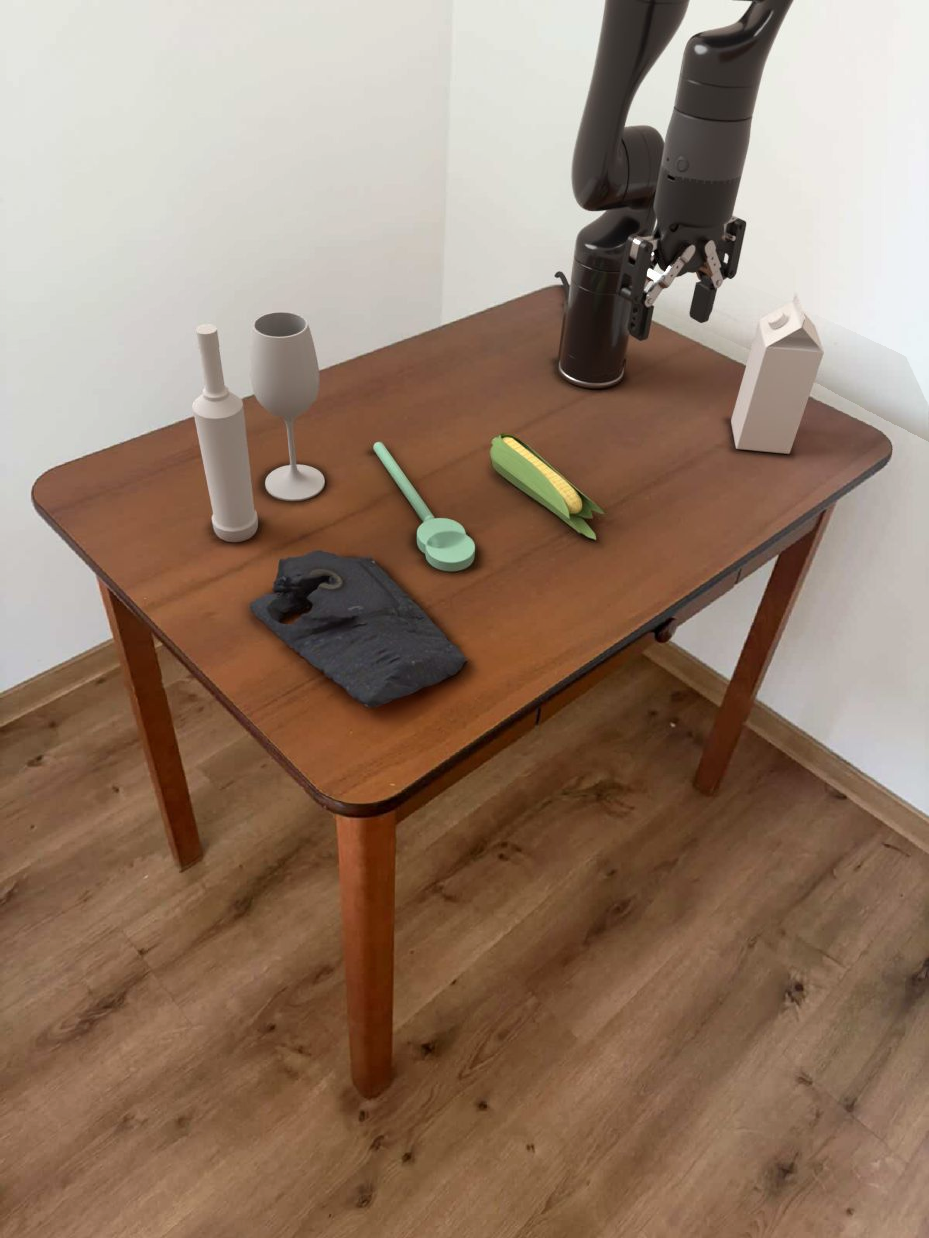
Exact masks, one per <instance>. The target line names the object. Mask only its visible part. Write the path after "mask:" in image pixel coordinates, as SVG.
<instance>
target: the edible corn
mask: <svg viewBox="0 0 929 1238" xmlns="http://www.w3.org/2000/svg"><path fill="white" fill-rule="evenodd" d="M490 444H491V448H490V450H489V451H490V453H489V455H490V460H491V465H492V467H493V469H494V470H495V471H496V472H497V473H498V474H499V475H500V476H502V477H503V478H505V479H506V481H508V482H509V483H511V484H512V485H514V486H515V487H516V488H517V489H519V490H520V491H522V492H523V493H525V494H526V495H527V496H529V497H530V498H532V499H533V500H534V501H536V502H537V503H539V504H540V505H542V506H543V507H544V508H546V509H547V510H548V511H550V512H551V513H552V514H554V515H556V516H557V517H558V518H559V519H561V520H562V521H563V522H564V523H566V524H567V525H569V526H570V527H571V528H572V529H574V530H575V531H576V532H577V533H579V534H582V535H584V536H586V537H587V538H590V539H593V540H595V541H597V536H596V533H595V532H594V531H593V530H592V528H591V527H590V526H589V524H588V523H587V522H586V521H585V520H584V519H594V518H593V513H592V511H594V512H596V513H598V514H601V515H606V513H605V512H604V511H603V510H602V508H601V507H600V506H598V505H597V504H596V503H595V502H594V501H593V500H592V499H590V498H589V497H588V496H587V495H586V494H585V493H583V492H582V491H581V490H580V489H578V488H577V487H576V485H574V484H573V483H572V482H570V481H569V480H568V479H567V478H566V477H565V476H563V475H562V473H560V472H559V471H558V470H557V469H555V468H554V467H553V466H552V464H550V463H549V462H548V461H547V460H545V458H543V457H542V456H541V455H540V454H539V453H538V452H537V451H535V450H534V449H533V448H532V447H531V446H529V445H528V444H527V443H525V442H524V441H523V440H521V439H520V438H518V437H517V436H515V435H513V434H510V433H505V432H502V433H500V434H499V435H498V436H497V437H494V438H493V439H492V440H491V443H490Z"/></svg>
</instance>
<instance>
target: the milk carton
mask: <svg viewBox="0 0 929 1238" xmlns="http://www.w3.org/2000/svg"><path fill="white" fill-rule="evenodd" d="M824 353H825V352H824V347H823V346H822V343H821V339H820V336H819V334H818V331H817V327H816V326H815V323H814V322H813V321H812V319H810V317H809V316H808V315H807V314H806V313H805V312H804V310H803V307H802V304H801V300H800V298H799V295H798V292H795V293H794V295H793V299H792V300H791V301H789V302H788V303H786V304H784V305H782V306H780V307H779V308H777V309H776V310H774V311H772V312H771V313H768V314H766V315H765V316H763V317H761V318H760V319H759V320H758V322H757V326H756V330H755V333H754V336H753V341H752V344H751V348H750V351H749V353H748V359H747V363H746V366H745V368H744V372H743V377H742V380H741V383H740V388H739V391H738V394H737V398H736V401H735V405H734V408H733V412H732V416H731V419H730V423H731V429H732V434H733V440H734V445H735V449H737V450H744V451H745V450H746V451H747V450H748V451H755V452H765V453H776V454H785V455H786V454H787V455H789V454H791V451H792V448H793V445H794V442H795V439H796V436H797V433H798V430H799V428H800V424H801V421H802V418H803V416H804V413H805V410H806V406H807V404H808V400H809V397H810V395H811V392H812V389H813V386H814V383H815V380H816V376H817V373H818V372H819V368H820V365H821V362H822V359H823V356H824Z"/></svg>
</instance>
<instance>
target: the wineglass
mask: <svg viewBox="0 0 929 1238" xmlns="http://www.w3.org/2000/svg"><path fill="white" fill-rule="evenodd" d="M249 348H250V350H249V377H250V383H251V387H252V388H251V389H252V391H253V392H252V393H253V395H254V397H255V398H256V400H257V402H258V403H259V405H260V406H261V407H263V408H264V409H265V410H266V411H267V412H268V413H270V414H272V415H274V416H276V417H278V418H279V419H282V420H283V421H284V423H285V427H286V435H287V443H288V453H289V454H288V455H289V464H288V465H283V466H280V467H278V468H275V469H274V470H272V471H271V472H270V473H269V474H268V475H267V476H266V478H265V481H264V482H265V483H264V486H265V489H266V491H267V492H268V494H269V495H270V496H272V497H273V498H276V499H278V500H282V501H287V502H301V501H305V500H306V501H307V500H309V499H311V498H315V496H317V495H319V494H320V493H321V492H322V491H323V489H324V487H325V482H326V481H325V477H324V475H323V473H322V472H321V471H320V470H319V469H317V468H315V467H312V466H310V465H305V464H298V463H297V456H296V445H295V433H294V421H295V420H296V418H299V417H300V416H301V415H303V414H304V413H306V412H307V411H308V410H309V409H310V408H311V407H312V405H313V404H314V403H315V401H316V399H317V397H318V394H319V391H320V368H319V363H318V356H317V352H316V347H315V342H314V339H313V335H312V332H311V328H310V326H309V323H308V320H307V319H306V318H305V317H304V316H302V315H301V314H298V313H295V312H291V311H272V312H267V313H263V314H261V315H259V316H258V317H257V318H255V319H254V320H253V321H252V326H251V333H250V346H249Z"/></svg>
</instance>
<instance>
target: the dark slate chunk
mask: <svg viewBox="0 0 929 1238" xmlns="http://www.w3.org/2000/svg"><path fill="white" fill-rule="evenodd" d="M271 591H272V592H273V593H265V594H263V595H262V596H260V597H257V598H256V599H254V600H252V601H250V602H249V610H250V612H253V613H254V615H255V616H256V617H257V618H258V619H259V620H260V621H262V622H263V623H264V624H265V625H266V627H268V628H269V629H270V630H271V631H272V632H273V633H274V634H275V635H276V636H277V637H278V638H279V639H280V640H281V641H282V642H285V644H286V645H287V646H288V647H289V648H291V649H294V651H295V653H297V654H299V655H300V657H303V658H304V659H306V660H307V661H308V662H309V664H310V665H311V666H312V667H314V668H315V669H316V670H318V671H320V672H321V673H323V674H324V675H325V676H326V677H327V678H328V679H330V680H331V681H333V682H334V683H335V684H337V685H338V686H339V687H340V688H342V689H344V690H345V691H346V692H347V694H348V695H350V697H351V698H352V699H354V700H355V701H356V702H358V703H360V704H362V705H364V706H365V707H367V708H371V709H374V708H377V707H380V706H383V705H385V704H387V703H390V702H392V701H395V700H398V699H401V698H403V697H406V696H410V695H412V694H413V693H417V692H418V691H419V690H422V689H423V688H426V687H432V686H434V685H435V686H436V685H437V684H439V683H440V682H442V681H444V680H446V679H447V678H450V677H452V676H454V675H456V674H457V673H458V672H459V671H460V670H462V668H463V665H464V664H466V663H469V660H468V658H467V657H466V656H465V654H463V653H462V651H461V650H460V649H459V647H457V645H455V644H454V643H453V642H451V641H450V640H448V639H447V636H446V635H445V633H444V632H442V631H441V629H440V628H439V627H438V626H437V625H435V623H434V622H433V620H432V619H431V618H430V617H429V616H428V615H427V613H426V612H425V611H424V610H423V609H421V607H420V606H419V605H418V604H416V603H415V602H414V601H413V599H412V598H411V596H410V595H409V594H408V593H406V591H404V590H403V589H402V588H401V587H400V586H399V585H398V583H396V581H395V580H393V579H391V577H390V576H389V575H388V574H387V571H385V570H384V569H382V568H381V567H380V566H379V565H378V564H377V563H376V561H375V560H374V559H373V558H372V557H371V556H365V557H364V556H358V557H357V558H356V557H342V556H340V555H337V554H336V553H334V552H329V551H325V550H322V549H317V550H313V551H309V552H307V553H305V554H302V555H299V556H298V555H297V556H288V557H286V558H280V559H279V561H278V567H277V572H276V576H275V580H274V581H273V586H272V589H271ZM310 607H311V610H310V611H308V609H309V608H310ZM305 610H307V612H306V613H302V614H301V615H300V617H299V618H297V619H295V621H294V624H287V623H282V622H281V621H282V620H283V618H285V617H289V616H291V615H292V614H295V613H301V612H302V611H305Z"/></svg>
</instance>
